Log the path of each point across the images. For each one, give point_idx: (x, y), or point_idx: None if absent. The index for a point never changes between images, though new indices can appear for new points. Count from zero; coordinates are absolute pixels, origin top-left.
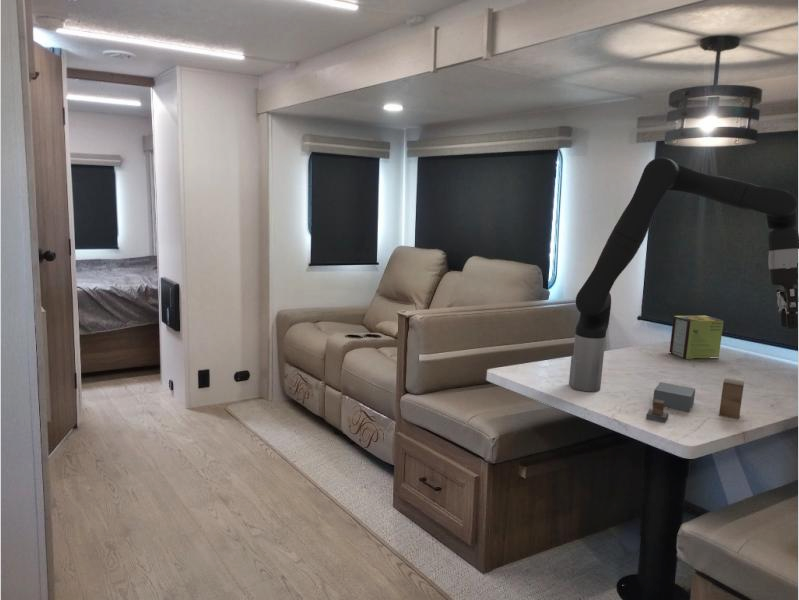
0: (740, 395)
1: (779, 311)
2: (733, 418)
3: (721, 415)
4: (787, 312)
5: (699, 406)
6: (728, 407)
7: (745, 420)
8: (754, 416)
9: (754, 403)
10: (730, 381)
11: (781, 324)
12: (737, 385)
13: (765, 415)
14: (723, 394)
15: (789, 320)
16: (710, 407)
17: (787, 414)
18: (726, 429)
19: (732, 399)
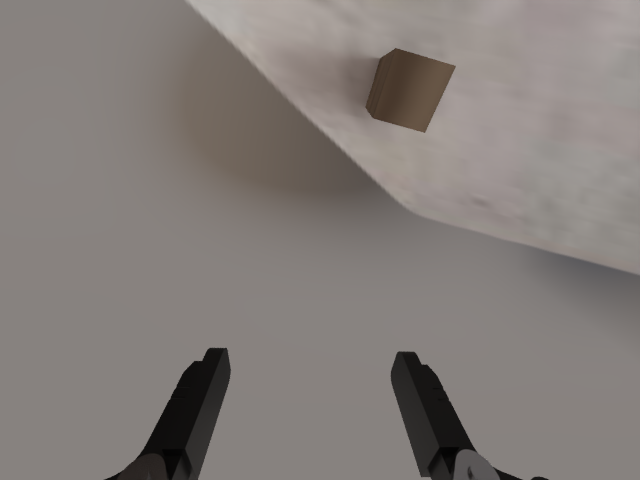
0: (371, 110)
1: (472, 464)
2: (369, 95)
3: (378, 65)
4: (120, 478)
5: (452, 3)
6: (376, 80)
7: (363, 122)
8: (397, 149)
9: (493, 172)
10: (411, 80)
11: (402, 359)
12: (378, 100)
13: (410, 173)
14: (387, 58)
15: (175, 402)
16: (447, 43)
17: (426, 214)
18: (280, 59)
19: (376, 88)
